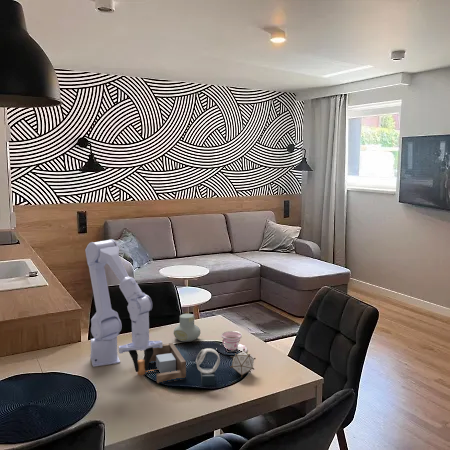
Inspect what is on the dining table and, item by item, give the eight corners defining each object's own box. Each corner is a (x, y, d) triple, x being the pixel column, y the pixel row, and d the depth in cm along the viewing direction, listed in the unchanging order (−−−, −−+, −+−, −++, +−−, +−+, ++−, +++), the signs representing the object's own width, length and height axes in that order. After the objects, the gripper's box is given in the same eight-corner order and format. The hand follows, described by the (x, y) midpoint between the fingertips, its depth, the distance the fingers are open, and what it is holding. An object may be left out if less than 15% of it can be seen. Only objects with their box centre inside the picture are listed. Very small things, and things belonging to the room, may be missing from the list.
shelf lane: (157, 383, 153) (157, 365, 153) (147, 362, 169) (146, 346, 168) (185, 378, 157) (185, 361, 156) (172, 358, 173) (172, 342, 172)
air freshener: (170, 339, 191) (169, 316, 190) (182, 333, 198) (182, 310, 196) (191, 345, 185) (191, 321, 184) (203, 338, 192) (203, 315, 191)
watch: (195, 377, 157) (195, 346, 156) (219, 377, 158) (219, 345, 156) (195, 385, 152) (195, 353, 150) (220, 384, 152) (220, 352, 151)
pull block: (139, 377, 157) (138, 365, 156) (135, 370, 162) (135, 358, 162) (176, 372, 161) (175, 359, 161) (171, 365, 167) (171, 353, 166)
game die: (240, 381, 163) (243, 352, 168) (259, 380, 157) (261, 350, 162) (223, 375, 157) (226, 346, 162) (242, 374, 152) (244, 343, 157)
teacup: (231, 341, 189) (231, 327, 188) (253, 350, 181) (254, 334, 180) (209, 350, 181) (209, 334, 180) (232, 359, 172) (232, 343, 172)
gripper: (120, 338, 152) (121, 378, 154) (164, 333, 157) (164, 371, 159) (117, 331, 158) (118, 369, 160) (159, 326, 163) (160, 363, 165)
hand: (141, 369), depth 160 cm, fingers closed on pull block, 3 cm apart
